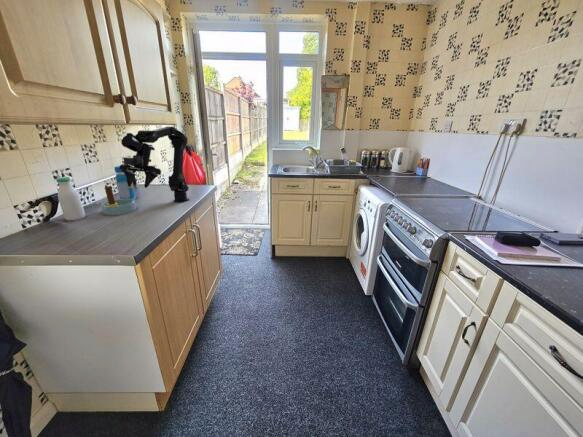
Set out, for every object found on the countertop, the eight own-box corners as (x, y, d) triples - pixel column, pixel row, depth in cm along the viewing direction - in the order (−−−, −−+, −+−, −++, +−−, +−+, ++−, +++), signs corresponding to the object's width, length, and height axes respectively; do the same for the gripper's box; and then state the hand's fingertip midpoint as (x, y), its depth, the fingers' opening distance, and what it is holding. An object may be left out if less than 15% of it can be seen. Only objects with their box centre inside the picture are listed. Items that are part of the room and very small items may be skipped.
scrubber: (115, 209, 132) (109, 185, 127) (120, 210, 130) (115, 186, 126) (107, 211, 128) (100, 187, 123) (112, 212, 126) (106, 188, 122)
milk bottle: (89, 217, 122) (77, 177, 115) (70, 222, 115) (57, 180, 108) (80, 214, 125) (68, 175, 118) (62, 219, 118) (47, 178, 111)
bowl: (124, 205, 139) (122, 197, 138) (142, 209, 134) (140, 200, 132) (97, 213, 127) (94, 204, 125) (115, 217, 121) (113, 208, 120)
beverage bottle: (121, 201, 146) (113, 168, 139) (119, 198, 152) (111, 166, 145) (137, 199, 151) (130, 166, 144) (134, 196, 157) (128, 165, 150)
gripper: (112, 148, 113) (105, 181, 111) (147, 149, 109) (140, 183, 108) (131, 157, 124) (126, 187, 122) (164, 158, 120) (158, 189, 118)
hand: (137, 186), depth 117 cm, fingers open, 9 cm apart
